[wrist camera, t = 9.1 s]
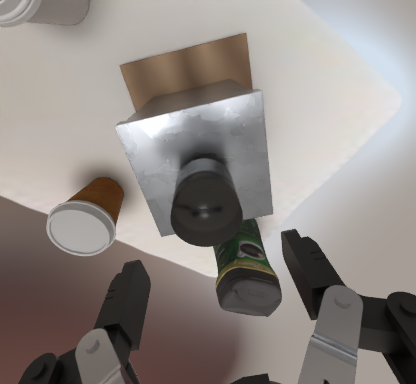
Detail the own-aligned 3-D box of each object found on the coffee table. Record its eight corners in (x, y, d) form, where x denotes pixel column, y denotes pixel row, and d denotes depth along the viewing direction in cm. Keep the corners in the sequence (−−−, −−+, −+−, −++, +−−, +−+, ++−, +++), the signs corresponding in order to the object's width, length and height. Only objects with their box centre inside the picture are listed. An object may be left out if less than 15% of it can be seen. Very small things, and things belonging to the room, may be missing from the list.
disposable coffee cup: (125, 167, 41) (101, 203, 30) (137, 211, 45) (120, 255, 35) (72, 171, 41) (29, 209, 30) (89, 214, 45) (58, 260, 35)
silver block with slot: (178, 184, 42) (169, 255, 27) (150, 96, 34) (114, 126, 19) (245, 169, 41) (275, 234, 26) (231, 76, 33) (262, 90, 18)
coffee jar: (205, 233, 49) (210, 318, 33) (219, 204, 46) (232, 283, 30) (245, 244, 51) (268, 328, 35) (261, 217, 48) (295, 297, 32)
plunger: (180, 168, 35) (166, 271, 18) (163, 113, 31) (124, 179, 14) (234, 156, 35) (272, 251, 18) (224, 98, 30) (261, 149, 13)
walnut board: (167, 193, 44) (167, 196, 43) (121, 65, 33) (119, 65, 32) (260, 173, 43) (262, 175, 42) (244, 33, 32) (246, 32, 31)
